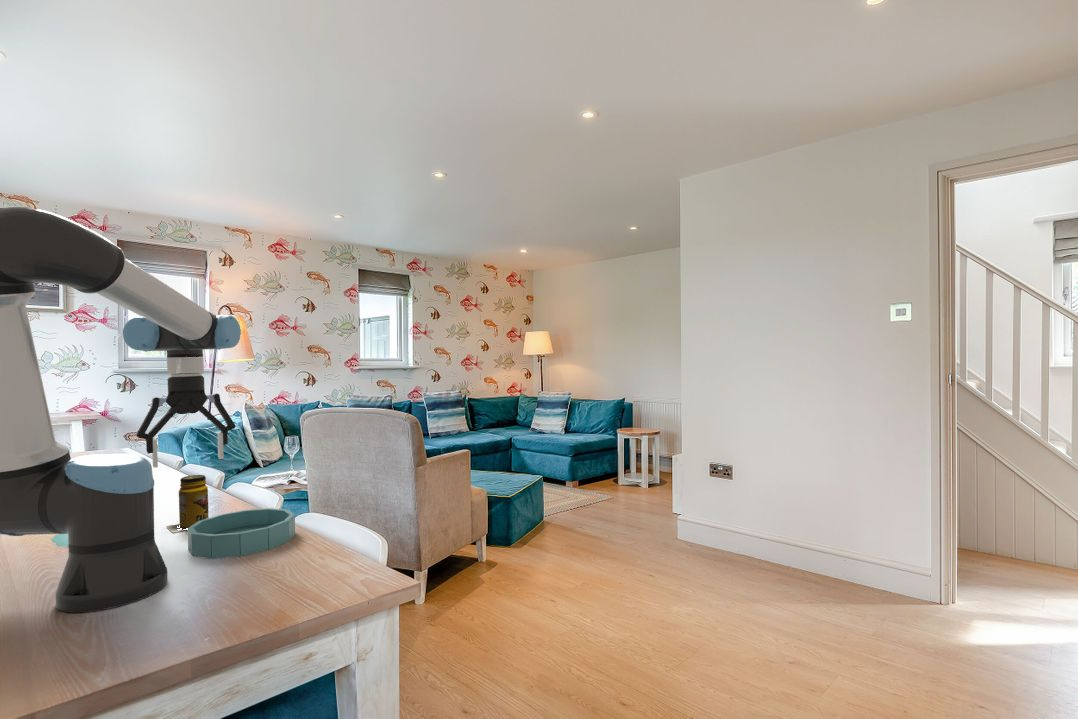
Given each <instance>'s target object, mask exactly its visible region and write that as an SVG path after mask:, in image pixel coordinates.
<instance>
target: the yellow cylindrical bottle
mask: <svg viewBox="0 0 1078 719" xmlns="http://www.w3.org/2000/svg"><path fill="white" fill-rule="evenodd" d="M206 480H207V477H206V476H205V474H195V475H194V474H193V475H187V476H183V477H181V478H180V481H179V482H180V484H179V487H180V488H179V490H178V511H179V514H178V515H179V516H178V519H179V523H178V524H170V525H166V528H167V529H168V530H169V531H170V532H171V533H172V534H175V533H178V532H185V531H186V530H183V529H186V528H189V527H190V526H192V525H193V524H195V523H197V522H198V521H201V520H204V519H207V518H210V517H209V489H208V488H209V487H208V486H207V485H206V484H207V482H206ZM179 525H180V528H182V530H179V531H178V530H177V529H180V528H177V526H178V527H179Z"/></svg>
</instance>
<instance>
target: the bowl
mask: <svg viewBox="0 0 1078 719" xmlns="http://www.w3.org/2000/svg"><path fill="white" fill-rule="evenodd" d="M295 535H296V514H295V513H294V512H292V511H291V510H289V509H285V508H284V509H283V508H282V509H281V508H275V507H274V508H272V507H268V508H266V507H265V508H255V509H254V508H253V509H244V510H238V511H232V512H227V513H220V514H218V515H214V516H211V517H209V518H207V519H204V520H201V521H198V522H197V523H195V524H193V525H192V526H190V527H189V528H188V530H187V546H188V547H187V548H188V552H189V553H190V555H191V556H192V557H196V558H205V559H221V558H222V559H223V558H233V557H234V558H235V557H241V556H242V557H243V556H247V555H251V554H257V553H260V552H264V551H269V550H271V549H274V548H276V547H279V546H282V545H284V544H286V543H289V542H290V541H291V539H292V538H293V537H295Z"/></svg>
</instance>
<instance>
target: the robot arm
mask: <svg viewBox="0 0 1078 719" xmlns="http://www.w3.org/2000/svg"><path fill="white" fill-rule="evenodd" d="M37 283H39V284H40V283H44V284H53V285H61V286H67V287H70V288H73V289H74V290H76V291H78V292H80V293H83V294H89V295H90V294H98V295H99V296H100V297H104V298H105V299H107V300H109V301H112V303H113V302H114V303H115V304H116V305H119V306H121V307H123V308H125V309H127V310H129V311H131V312H132V313H134V314H136V315H138V316H135V317H132V318H130V319H128V321H126V323H125V324H124V326H123V328H122V338H123V341H124V343H125V344H126V345H127V346H128V347H129V348H131V349H133V350H134V351H143V352H144V353H147V352H166V368H167V369H166V370H167V371H166V373H167V375H170V376H169V377H168V378H167V396H166V397H158V396H154V397H152V399H151V405H150V406H151V407H150V409H149V410H148V412H147V413H146V416H145V418H144V420H143V421H142V423H141V424H140V427H139V429H138V430H137V432H136V434H135V435H136V437H137V438H138V439H143V440H145V448H146V453H147V454H152V457H151V458H152V464H151V462H150V461H149V460H148V459H147V458H145V457H142V456H139V455H135V454H127V453H110V454H109V453H108V454H105V453H103V454H102V453H96V454H87V455H80V456H77V457H74V458H72V457H71V455H70V454H71V453H70V448H69V447H68V446H66V445H64V444H62V443H59V442H58V441H56V438H55V432H54V429H53V424H52V419H51V416H50V411H49V406H48V402H47V401H48V400H47V398H46V397H47V396H46V392H45V388H44V383H43V379H42V375H41V370H40V365H39V360H38V355H37V351H36V347H35V346H36V345H35V341H34V337H33V333H32V329H31V328H32V327H31V324H30V319H29V314H28V310H27V303H29V301H30V300H31V299H32V298H33V297H34V296H35V295H36V289H35V284H37ZM241 334H242V330H241V324H240V323H239V321H238V319H237V318H236V317H234V316H233V315H228V314H227V315H225V314H218V315H216V314H213V313H212V312H210V311H208V310H207V309H205V307H202V306H200V305H199V304H198V303H196V302H194V301H193V300H191V299H190V298H188V297H186V296H185V295H183V294H182V293H180V292H178V291H177V290H175V289H174V288H172V286H171V287H170V286H169V285H168V284H166V283H165V282H163V281H162V280H160V279H158V278H157V277H155V276H154V275H152V274H151V273H149V272H147V271H146V270H144V269H142V268H141V267H140V266H139V265H136V264H135V263H133V262H131V261H130V260H129V259H127V258H126V255H125V252H124V251H123V250H122V248H120V247H119V246H117V245H116V244H115V243H113V242H112V241H110V240H109V239H107V238H105V237H104V236H103V235H100V234H99V233H97V232H95V231H93V230H91V229H89V228H88V227H86V226H83V225H81V224H79V223H77V222H75V221H73V220H71V219H69V218H66V217H64V216H61V215H58V214H55V213H53V212H49V211H46V210H42V209H38V208H33V207H25V206H8V207H0V535H6V536H9V537H10V536H11V537H22V536H31V535H37V536H38V535H59V534H68V543H69V547H68V557H67V560H66V563H65V566H64V569H63V571H62V573H61V574H62V575H61V577H60V580H59V583H58V585H57V587H56V588H57V589H56V591H55V608H56V609H57V610H58V611H60V612H65V613H87V612H97V611H100V610H101V611H102V610H105V609H106V610H107V609H111V608H116V607H119V606H123V605H126V604H127V605H128V604H130V603H133V602H136V601H139V600H141V599H145V598H147V597H149V596H152V595H153V594H156V593H157V592H159V591H160V590H162V589H163V588H164V587H166V586H167V584H168V581H169V580H168V577H169V576H168V567H167V566H166V563H165V561H164V559H163V556H162V554H161V552H160V549H159V547H158V545H157V542H156V539H155V502H154V501H155V498H154V497H155V496H154V495H155V492H154V491H155V490H154V488H155V479H154V477H153V476H154V475H153V468H158V467H159V461H158V459H159V458H158V440H157V438H156V435H157V434H159V432H160V431H161V430H162V429H163V428H164V426H165V425H167V423H168V422H169V421H170V420H171V419H172V418H173V417H174V416H175V415H176V414H178V415H185V414H196V413H198V412H199V413H200V414H202V415H203V416H204V417H205V418H206V419H207V420H209V421H210V422H211V423H212V424H213V425H214V427H216V428H217V429H218V430H219V431H217V433H216V435H217V458H218V459H219V460H224V457H225V456H224V446H225V445H228V444H229V439H228V438H229V436H228V435H229V434H228V432H229V431H231V430H234V429H236V424H235V423H234V420H232V418H231V416H230V414H229V413H228V411H227V410H226V408H225V406H224V405H223V402H221V397H220V396H221V395H220V394H219V393H212V394H207V395H206V391H205V377H204V376H203V375H202V374H203V373H205V366H204V351H205V350H219V351H221V350H224V349H232V348H234V347H236V346H237V345H239V344H238V343H239V342H240V340H241ZM208 400H209V402H210V403H212V404H213V405H214V406H215V408H216V409H217V411H218V413H219V415H220V416H221V417H222V419H223V420H224V422H225V424H226V425H225V424H223V423H222V422H221V421H220V420H219V419H218V418H216V417H215V416H214V414H212V413H211V412H210V411H209V409H207V408H206V407H205V406H204V405H205V403H206V402H207V401H208ZM164 403H166V404H167V405H168V406H169V409H168V410H167V411H166V413H165V414H164V415H163V416H162V417H161V418H160V420H158V422H157V423H156V424H155V425H154V426H153V427H152V428H151V429H150V430H149V431H148V433H146V432H147V430H148V428H149V427H150V425H151V423H152V421H153V419H154V417H155V415H156V414H157V413H158V411H159V407H162V406H163V405H164ZM154 437H155V438H154Z"/></svg>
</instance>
